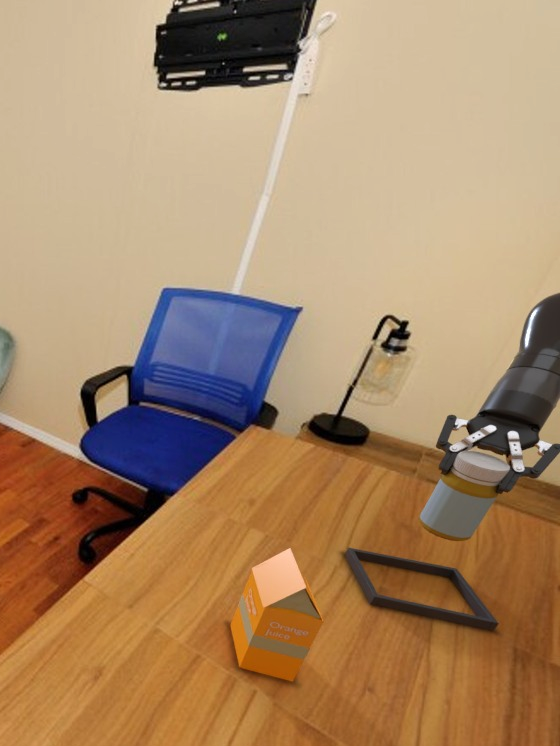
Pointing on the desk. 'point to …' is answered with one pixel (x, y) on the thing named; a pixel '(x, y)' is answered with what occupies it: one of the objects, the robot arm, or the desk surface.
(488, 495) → the bottle
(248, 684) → the desk surface
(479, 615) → the dark rectangular frame
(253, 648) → the orange juice
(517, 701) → the desk surface
